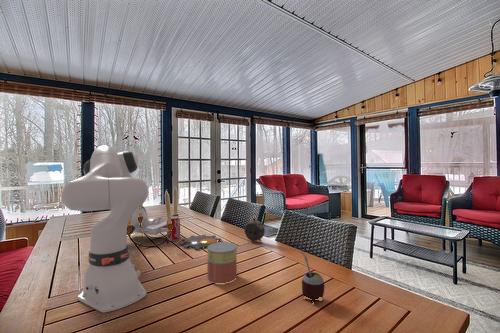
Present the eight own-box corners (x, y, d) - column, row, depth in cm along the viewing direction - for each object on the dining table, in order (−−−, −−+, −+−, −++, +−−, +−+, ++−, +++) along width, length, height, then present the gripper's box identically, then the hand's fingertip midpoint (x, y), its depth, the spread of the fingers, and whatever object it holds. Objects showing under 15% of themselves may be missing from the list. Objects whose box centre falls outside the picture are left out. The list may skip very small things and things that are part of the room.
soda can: (176, 242, 139) (176, 218, 138) (164, 241, 140) (164, 218, 140) (182, 238, 146) (182, 216, 145) (170, 237, 147) (170, 215, 147)
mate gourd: (325, 307, 78) (325, 258, 78) (299, 304, 79) (299, 257, 79) (322, 294, 85) (323, 250, 85) (298, 292, 87) (299, 248, 86)
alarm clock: (265, 242, 139) (265, 213, 138) (260, 245, 134) (260, 215, 134) (248, 239, 144) (248, 211, 144) (242, 241, 140) (242, 212, 139)
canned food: (235, 270, 104) (235, 241, 104) (238, 283, 93) (238, 251, 92) (207, 272, 102) (207, 242, 102) (207, 286, 91) (207, 252, 91)
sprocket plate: (230, 242, 139) (230, 239, 139) (196, 253, 122) (196, 250, 122) (204, 234, 154) (204, 231, 154) (171, 243, 137) (171, 240, 137)
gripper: (140, 225, 136) (162, 226, 132) (163, 216, 156) (183, 218, 152) (140, 236, 137) (162, 238, 133) (163, 227, 156) (183, 228, 152)
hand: (173, 227), depth 143 cm, fingers open, 8 cm apart
